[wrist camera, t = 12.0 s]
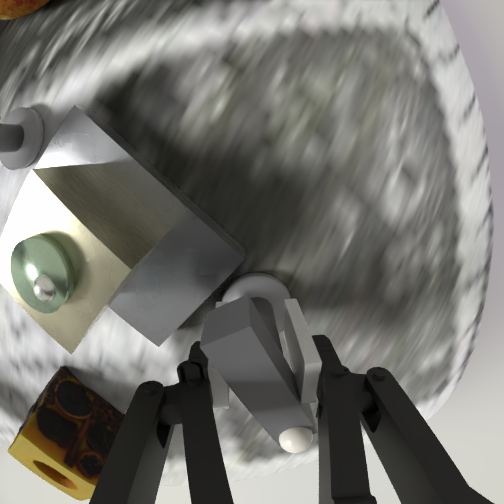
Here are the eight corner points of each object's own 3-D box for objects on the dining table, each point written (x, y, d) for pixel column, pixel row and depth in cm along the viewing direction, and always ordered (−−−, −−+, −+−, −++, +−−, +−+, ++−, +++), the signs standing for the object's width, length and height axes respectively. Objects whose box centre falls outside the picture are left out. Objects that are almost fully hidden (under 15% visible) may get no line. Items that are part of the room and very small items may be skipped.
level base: (32, 205, 18) (-66, 241, 8) (91, 109, 16) (-15, 83, 6) (165, 329, 21) (126, 436, 11) (244, 248, 20) (251, 339, 9)
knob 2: (198, 273, 20) (166, 373, 10) (263, 241, 19) (289, 325, 9) (252, 359, 22) (261, 469, 12) (309, 335, 22) (348, 440, 12)
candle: (63, 362, 22) (17, 430, 13) (139, 422, 25) (117, 496, 15) (37, 395, 24) (3, 449, 15) (99, 444, 27) (78, 502, 17)
